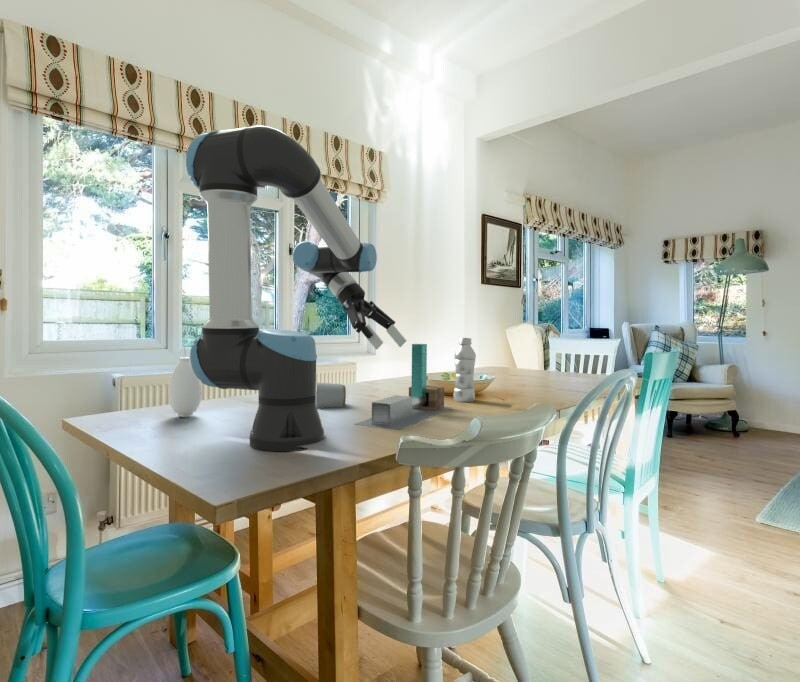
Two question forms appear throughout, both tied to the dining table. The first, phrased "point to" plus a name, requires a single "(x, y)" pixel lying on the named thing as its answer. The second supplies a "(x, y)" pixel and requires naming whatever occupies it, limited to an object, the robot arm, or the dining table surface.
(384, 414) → the sleeve
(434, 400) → the socket block
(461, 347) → the plastic bottle
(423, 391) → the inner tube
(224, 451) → the dining table surface
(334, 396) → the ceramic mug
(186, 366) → the white vase
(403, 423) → the base board
